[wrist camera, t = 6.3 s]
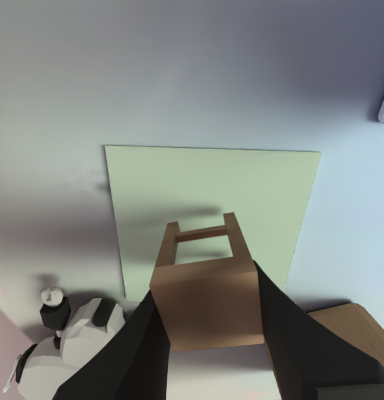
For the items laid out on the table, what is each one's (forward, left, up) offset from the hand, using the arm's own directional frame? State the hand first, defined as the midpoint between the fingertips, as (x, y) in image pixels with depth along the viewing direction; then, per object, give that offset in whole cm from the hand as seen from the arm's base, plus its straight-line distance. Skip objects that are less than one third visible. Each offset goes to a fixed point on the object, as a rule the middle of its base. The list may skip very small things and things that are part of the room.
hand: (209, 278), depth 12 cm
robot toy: (+12, +13, -5) cm, 19 cm away
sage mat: (0, 0, -5) cm, 5 cm away
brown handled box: (0, 0, -3) cm, 3 cm away
